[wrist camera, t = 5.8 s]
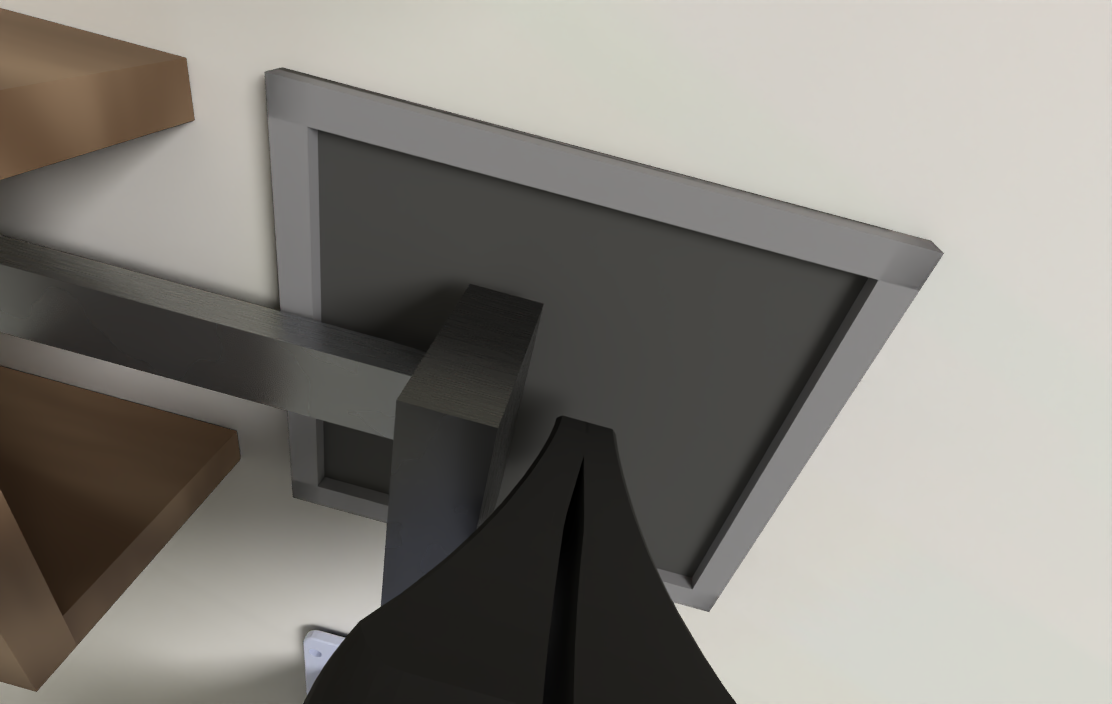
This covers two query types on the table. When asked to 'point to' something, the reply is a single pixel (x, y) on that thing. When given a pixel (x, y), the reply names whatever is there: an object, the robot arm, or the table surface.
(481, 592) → the robot arm
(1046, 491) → the table surface
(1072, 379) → the table surface
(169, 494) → the tunnel
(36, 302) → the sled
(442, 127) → the grey flat square panel
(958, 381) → the table surface
